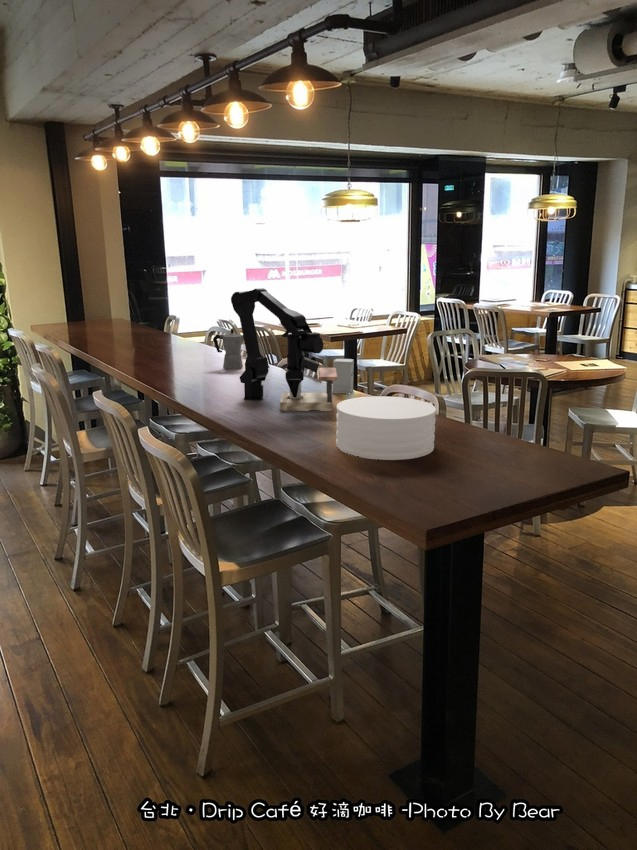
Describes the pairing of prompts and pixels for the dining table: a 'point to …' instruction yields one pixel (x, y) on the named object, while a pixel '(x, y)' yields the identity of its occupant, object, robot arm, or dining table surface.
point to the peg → (297, 393)
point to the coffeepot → (231, 349)
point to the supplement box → (343, 376)
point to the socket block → (312, 396)
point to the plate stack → (385, 427)
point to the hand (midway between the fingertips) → (295, 394)
